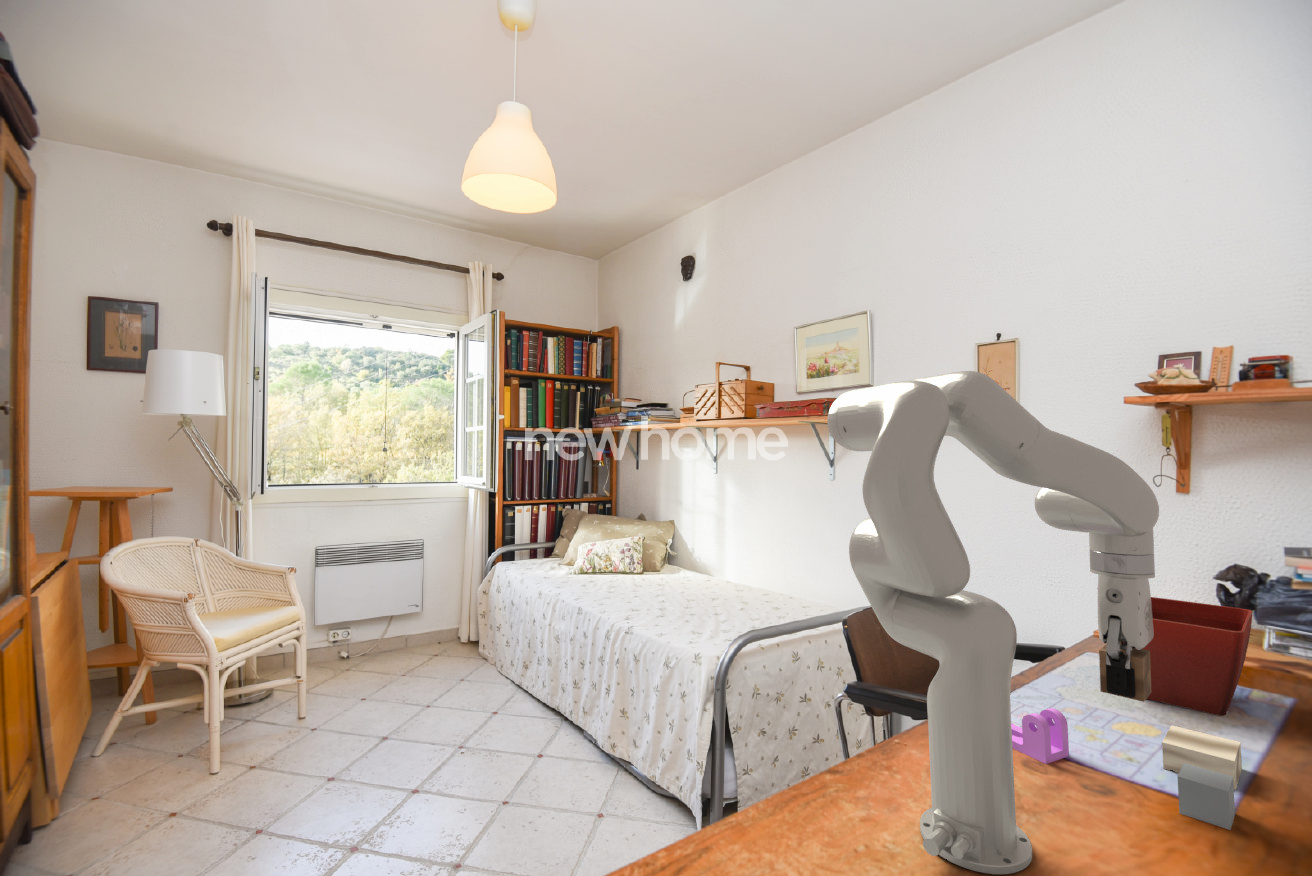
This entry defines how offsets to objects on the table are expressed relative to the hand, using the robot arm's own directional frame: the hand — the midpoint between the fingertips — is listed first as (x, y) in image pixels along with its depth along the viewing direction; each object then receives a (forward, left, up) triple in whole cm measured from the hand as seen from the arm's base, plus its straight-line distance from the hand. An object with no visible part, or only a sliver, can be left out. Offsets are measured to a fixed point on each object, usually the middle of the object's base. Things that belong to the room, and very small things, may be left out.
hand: (1125, 688), depth 87 cm
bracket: (+4, +16, -15) cm, 22 cm away
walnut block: (0, 0, -1) cm, 1 cm away
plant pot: (+45, 0, -15) cm, 47 cm away
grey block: (0, -8, -14) cm, 17 cm away
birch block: (+14, -6, -14) cm, 21 cm away
